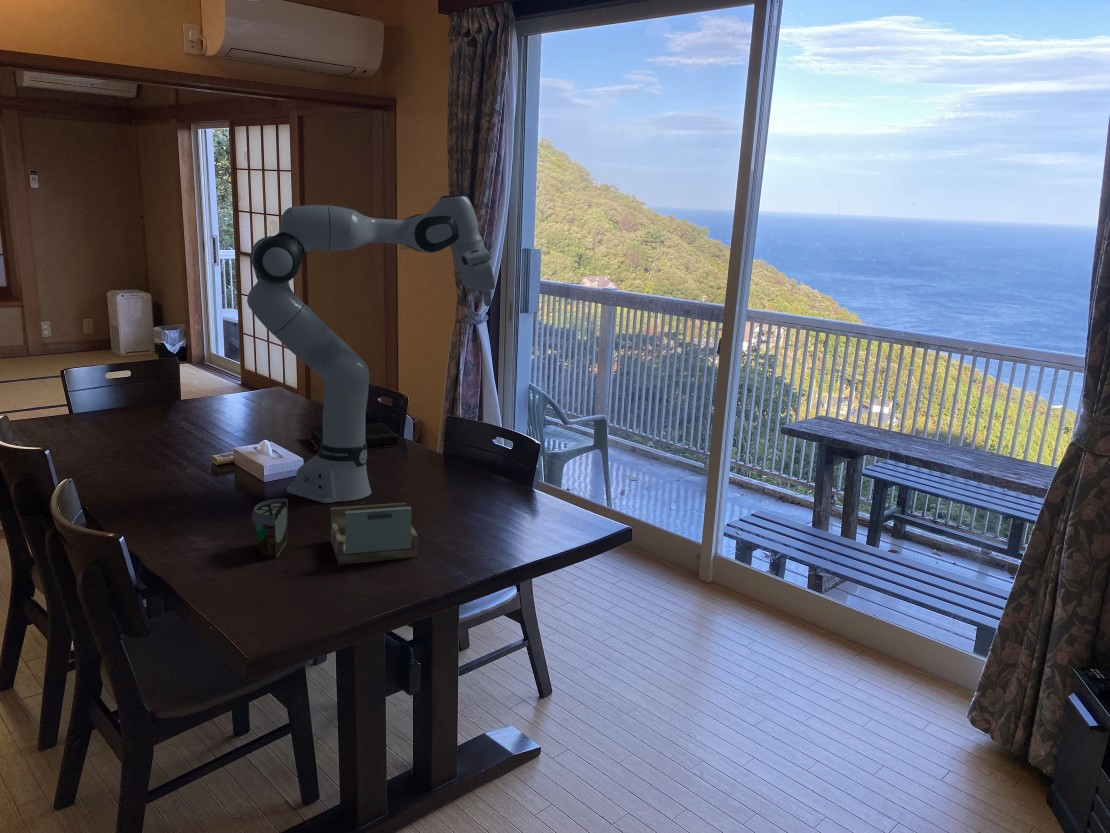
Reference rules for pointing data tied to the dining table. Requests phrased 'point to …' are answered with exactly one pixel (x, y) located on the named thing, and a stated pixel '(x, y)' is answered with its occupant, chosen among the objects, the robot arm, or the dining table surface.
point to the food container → (271, 526)
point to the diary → (373, 435)
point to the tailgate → (377, 530)
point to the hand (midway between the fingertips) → (483, 303)
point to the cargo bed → (344, 558)
